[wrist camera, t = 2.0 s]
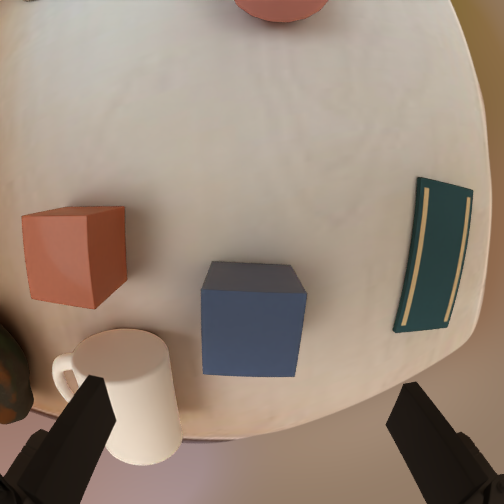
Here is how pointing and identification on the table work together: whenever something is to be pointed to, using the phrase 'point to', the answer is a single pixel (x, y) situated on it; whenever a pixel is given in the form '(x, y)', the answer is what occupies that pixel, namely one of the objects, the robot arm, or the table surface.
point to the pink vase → (281, 9)
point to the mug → (130, 391)
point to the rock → (13, 380)
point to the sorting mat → (434, 256)
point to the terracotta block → (75, 254)
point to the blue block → (251, 319)
